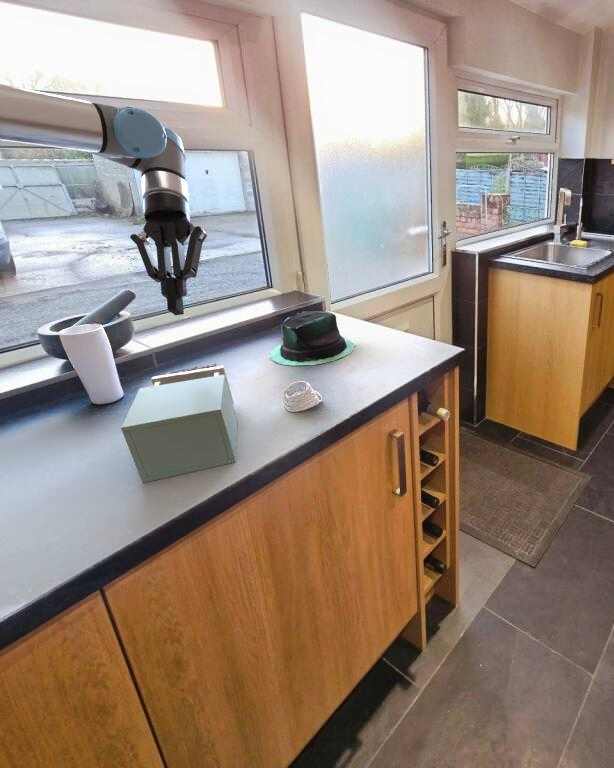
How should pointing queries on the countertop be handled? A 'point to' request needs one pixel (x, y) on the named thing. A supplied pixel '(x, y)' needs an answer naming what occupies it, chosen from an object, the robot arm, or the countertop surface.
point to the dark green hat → (311, 340)
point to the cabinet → (181, 428)
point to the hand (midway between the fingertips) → (175, 312)
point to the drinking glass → (93, 361)
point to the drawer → (191, 376)
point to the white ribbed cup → (300, 397)
